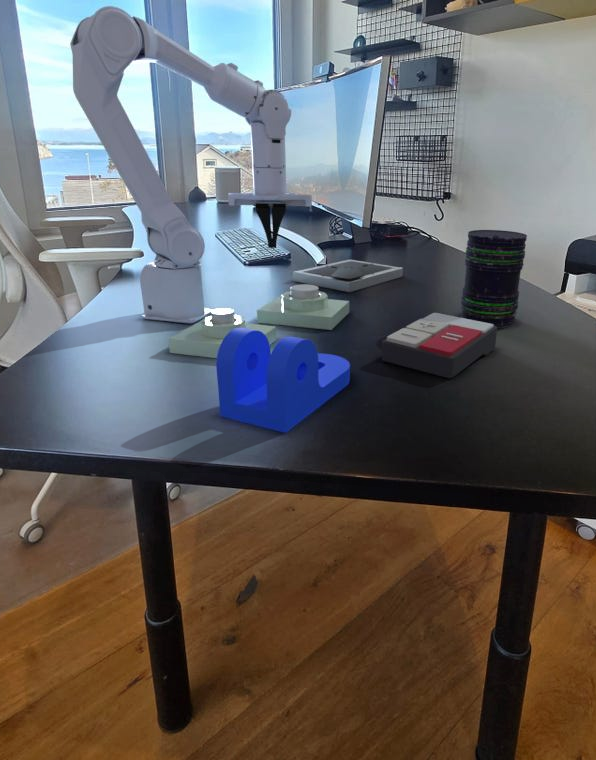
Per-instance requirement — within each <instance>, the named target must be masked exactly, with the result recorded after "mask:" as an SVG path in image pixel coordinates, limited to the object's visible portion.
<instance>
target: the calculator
mask: <svg viewBox="0 0 596 760" xmlns="http://www.w3.org/2000/svg"><path fill="white" fill-rule="evenodd" d="M497 332H498V328H497V326H494V325H493V324H490V323H485V322H480V321H475V320H470V319H465V318H460V316H455V315H449V314H443V313H439V312H432V313H430V314H429V315H427V316H425V317H423V318H419V319H417V320H415V321H413V322H412V323H410V324H408V325H406V326H405V327H402V328H401V329H399V330H397V331H395V332H393V333H390V334H389V335H388V336H386V338H385V339H383V340H382V341H381V342H382V343H381V360H382V361H383V362H386V363H390V364H393V365H396V366H400V367H404V368H408V369H411V370H414V371H415V370H416V371H419V372H424V373H427V374H431V375H435V376H439V377H442V378H446V379H453V378H455V376H457V375H458V374H459V373H461V372H462V371H463V370H464V369H466V368H467V367H469V366H470V365H471V364H473V363H474V362H475V361H477V360H478V359H479V358H481V356H484V357H486V356H487V355H489V354H490V353H492V351H494V350H495V349H496V343H497V334H498V333H497Z"/></svg>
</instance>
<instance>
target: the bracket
mask: <svg viewBox="0 0 596 760" xmlns="http://www.w3.org/2000/svg"><path fill="white" fill-rule="evenodd" d="M215 367H216V379H217V380H216V381H217V389H218V391H217V392H218V403H219V413H220V417H221V418H225V419H229V420H233V421H236V422H240V423H245V424H248V425H253V426H256V427H260V428H264V429H268V430H272V431H276V432H279V433H284V434H287V433H288V432H289V431H290V430H292V429H293V428H294V427H296V426H298V424H300V423H301V422H302V421H304V420H305V419H307V417H309V416H310V415H311V414H313V413H314V412H315V411H316V410H318V409H319V408H320V407H321V406H323V405H324V404H325V403H327V402H328V401H329V400H330V399H331V398H333V397H334V396H335V395H337V394H338V393H340V392H342V390H343V389H344V388H346V387H347V386H348V385H349V384H350V380H351V376H350V375H351V363H350V362H349V360H347V359H346V358H344V357H343V356H339V355H335V354H330V353H321V352H320V353H318V349H317V347H316V345H315V344H314V342H313V341H311V340H310V339H308V338H307V339H306V338H301V337H296V336H295V337H294V336H284V337H282V338H281V339H280V340H279V341H278V342H277V343H276V344H275V345H274V347H273V349H272V351H271V345H269V341H268V339H267V337H266V336H265V335H264V334H263V333H262V332H260V331H257V330H251V329H246V328H236V329H233V330H232V331H230V332H229V333H228V334H227V335H226V336H225V338H224V339H223V341H222V343H221V345H220V348H219V351H218V355H217V358H216V362H215Z"/></svg>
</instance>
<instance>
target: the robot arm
mask: <svg viewBox="0 0 596 760" xmlns="http://www.w3.org/2000/svg"><path fill="white" fill-rule="evenodd" d="M69 46H70V50H71V54H72V90H73V93H74V96H75V99H76V100H77V102H78V104H79V106H80V108H82V111H83V113H84V114H85V116H86V118H87V120H88V122H89V124H90V125H91V127H92V129H93V130H94V132H95V134H96V135H97V138H98V139H99V142H100V143H101V144H102V146H103V148H104V149H105V151H106V153H107V155H108V157H109V158H110V161H111V162H112V164H113V165H114V167H115V169H116V171H117V172H118V174H119V176H120V178H121V180H122V181H123V183H124V185H125V186H126V188H127V190H128V192H129V194H130V195H131V197H132V199H133V200H134V202H135V204H136V206H137V208H138V210H139V211H140V213H141V214H140V215H141V216H140V217H141V223H142V225H143V227H144V229H145V231H146V240H147V244H148V247H149V249H150V250H151V251H152V252H153V253H154V254H155V257H154V261H153V262H148V263H146V264H145V265H144V266H143V268H141V272H140V276H139V284H140V291H141V298H142V305H143V312H144V314H143V315H141V318H142V320H153V321H161V322H162V321H163V322H170V323H171V322H172V323H182V324H194V323H197V322H198V321H201V320H202V319H204V318H206V317H208V316H210V315H211V311H212V310H215V309H214V308H208V307H205V299H204V289H203V277H202V266H201V265H202V264H201V259H202V258H203V256H204V253H205V248H206V247H205V246H206V243H205V240H204V237H203V235H202V234H201V232H200V231H199V230H198V229H196V228H195V227H194V226H192V224H190V222H189V221H188V219H187V217H186V215H185V214H184V213H183V212H182V211H181V210H180V208H179V207H177V205H176V204H175V203H174V201H173V200H172V198H171V196H170V193H169V192H168V190H167V188H166V186H165V185H164V182H163V181H162V179H161V177H160V175H159V173H158V171H157V170H156V167H155V166H154V163H153V161H152V160H151V158H150V156H149V154H148V152H147V150H146V149H145V147H144V144H143V143H142V141H141V139H140V137H139V135H138V133H137V131H136V129H135V127H134V126H133V124H132V121H131V119H130V118H129V116H128V114H127V112H126V111H125V108H124V106H123V105H122V103H121V101H120V98H119V97H118V93H119V89H120V87H121V84H122V81H123V78H124V75H125V72H126V71H127V69H129V67H130V66H131V65H132V64H140V63H155V64H156V65H159V66H161V67H163V68H165V69H167V70H169V71H170V72H173V73H175V74H176V75H179V76H181V77H183V78H185V79H187V80H189V81H191V82H193V83H195V84H197V85H199V86H202V87H203V89H204V91H205V92H206V95H207V97H208V99H209V100H210V101H212V102H214V103H216V104H218V105H219V106H222V107H223V108H225V109H227V110H228V111H231V112H232V113H235V114H237V115H238V116H240V117H242V118H244V119H245V122H246V123H247V124H248V125H249V126H250V142H251V143H250V144H251V162H252V163H251V164H252V182H253V192H228V194H227V199H228V206H255V212H256V214H257V217H258V218H259V220H260V223H261V225H262V228H263V230H264V234H265V237H266V241H267V247H268V248H269V249H272V248H273V249H276V248H277V243H278V242H277V241H278V235H279V231H280V228H281V224H282V222H283V219H284V216H285V214H286V211H287V207H308V208H309V207H313V205H312V204H313V202H312V198H313V197H312V194H306V193H305V194H303V193H301V194H300V193H287V161H286V157H287V156H286V134H287V132H286V129H287V126H288V124H289V122H290V121H291V117H292V109H291V108H289V104H288V103H289V102H288V100H287V99H286V98H285V95H283V93H282V92H281V91H278V90H276V89H266V88H265V87H264V83H263V82H262V81H261V80H253V79H252V78H250V77H248V76H247V75H245V74H243V73H242V72H240V71H239V70H238V69H239V67H238V66H237V65H236V64H235V63H233V62H230V63H229V62H228V63H225V62H220V63H217V64H215V65H211V64H210V63H209V62H207V61H206V60H204V59H202V58H201V57H199V56H198V55H197V54H195V53H193V52H192V51H190V50H188V49H187V48H185V47H184V46H182V45H181V44H179V43H178V42H176V41H174V40H173V39H171V38H170V37H169V36H167V35H166V34H163V33H162V32H161V31H159V30H157V29H156V28H154V27H153V25H150V24H149V23H148V22H147V21H145V20H144V19H142V18H140V17H137V16H131V14H129V13H128V12H127V11H125V10H124V9H122V8H119V7H118V6H114V5H113V6H112V5H107V6H106V5H105V6H103V7H101V8H99V9H98V10H96V11H95V12H94V14H91V16H86V17H85V18H83V19H81V20H80V21H79V23H78V24H77V26H76V28H75V31H74V33H73V36H72V38H71V41H70V43H69ZM263 201H265V202H263ZM270 201H272V202H270ZM274 201H276V202H274ZM277 201H280V202H277ZM271 221H272V224H271Z"/></svg>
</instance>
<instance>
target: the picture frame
mask: <svg viewBox="0 0 596 760" xmlns="http://www.w3.org/2000/svg"><path fill="white" fill-rule="evenodd" d="M403 273H404V267H401V266H400V267H399V266H393V265H387V264H380V263H374V262H367V261H362V260H355V259H346V260H341V261H335V262H331V263H327V264H323V265H317V266H314V267H309V268H304V269H300V270H295V271H292V281H293V282H296V283H301V284H307V285H315V286H317V287H321V288H326V289H330V290H336V291H341V292H345V293H352V292H355V291H359V290H362V289H365V288H369V287H372V286H376V285H379V284H383V283H386V282H389V281H393V280H396V279H401V278H403Z"/></svg>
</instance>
